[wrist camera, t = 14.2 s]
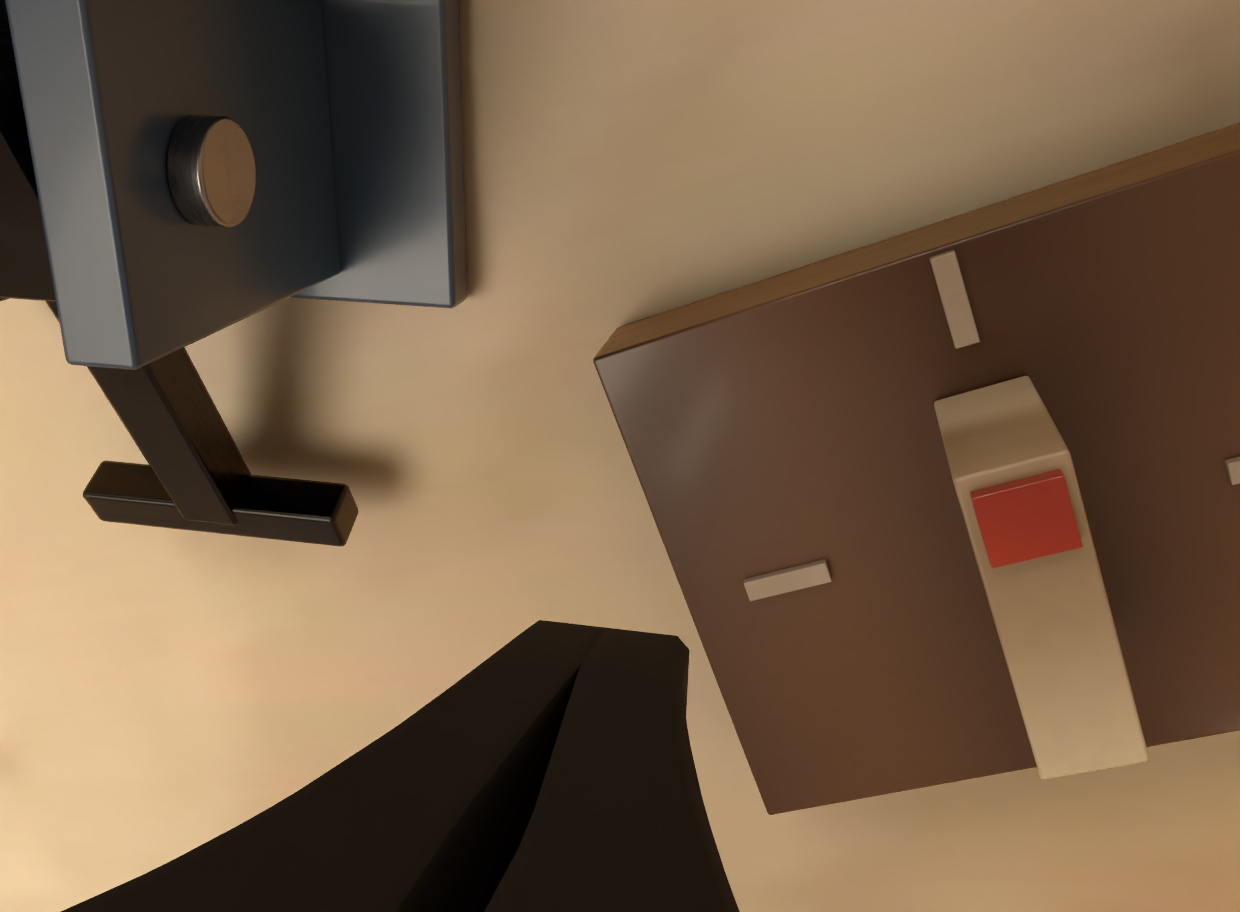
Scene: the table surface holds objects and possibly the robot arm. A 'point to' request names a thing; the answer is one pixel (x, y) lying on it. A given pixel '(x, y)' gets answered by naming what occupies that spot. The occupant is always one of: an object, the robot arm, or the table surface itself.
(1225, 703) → the block
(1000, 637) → the beige slab
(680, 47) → the table surface
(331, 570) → the table surface
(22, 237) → the toaster lever
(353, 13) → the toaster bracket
